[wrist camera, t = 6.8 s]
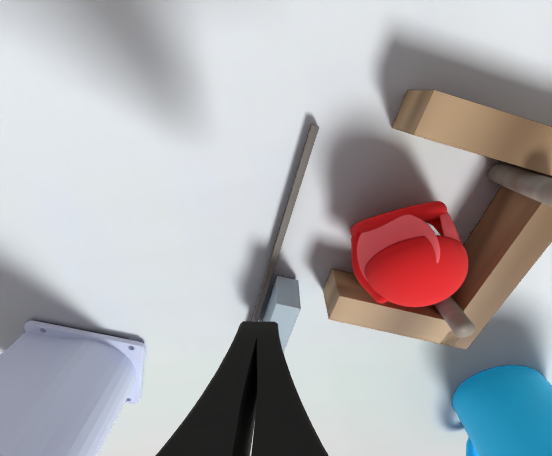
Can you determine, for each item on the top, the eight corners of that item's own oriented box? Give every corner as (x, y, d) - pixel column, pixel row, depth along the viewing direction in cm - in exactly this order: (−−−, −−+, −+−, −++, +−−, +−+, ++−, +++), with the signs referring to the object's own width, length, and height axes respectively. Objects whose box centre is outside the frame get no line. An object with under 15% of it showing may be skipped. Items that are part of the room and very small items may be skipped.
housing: (247, 334, 23) (239, 385, 19) (328, 65, 15) (346, 56, 11) (409, 368, 25) (433, 422, 21) (567, 140, 16) (662, 156, 12)
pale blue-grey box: (260, 325, 23) (256, 366, 19) (276, 275, 21) (276, 312, 17) (280, 329, 23) (279, 371, 19) (298, 280, 21) (301, 317, 17)
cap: (325, 220, 15) (351, 333, 15) (450, 187, 12) (490, 325, 12) (362, 221, 22) (381, 298, 22) (448, 200, 19) (473, 288, 19)
